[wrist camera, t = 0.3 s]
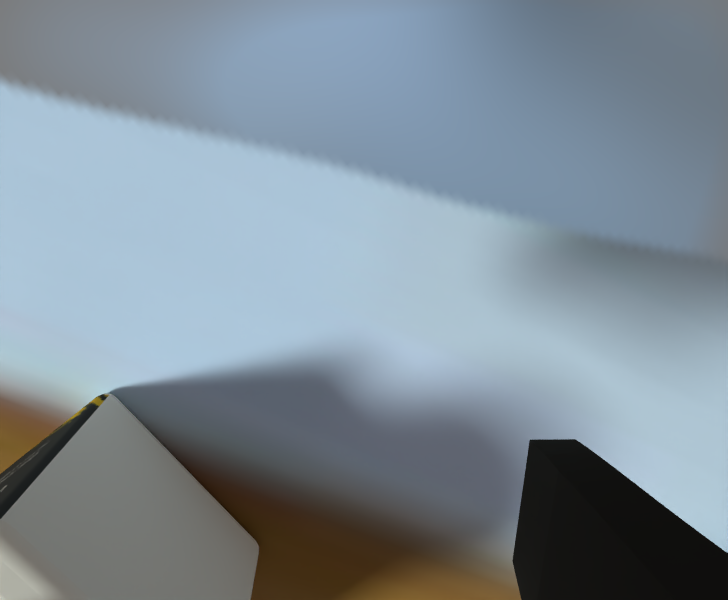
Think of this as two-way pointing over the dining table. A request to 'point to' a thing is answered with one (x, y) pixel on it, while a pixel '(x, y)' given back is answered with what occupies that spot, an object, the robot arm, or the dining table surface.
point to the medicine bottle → (115, 519)
